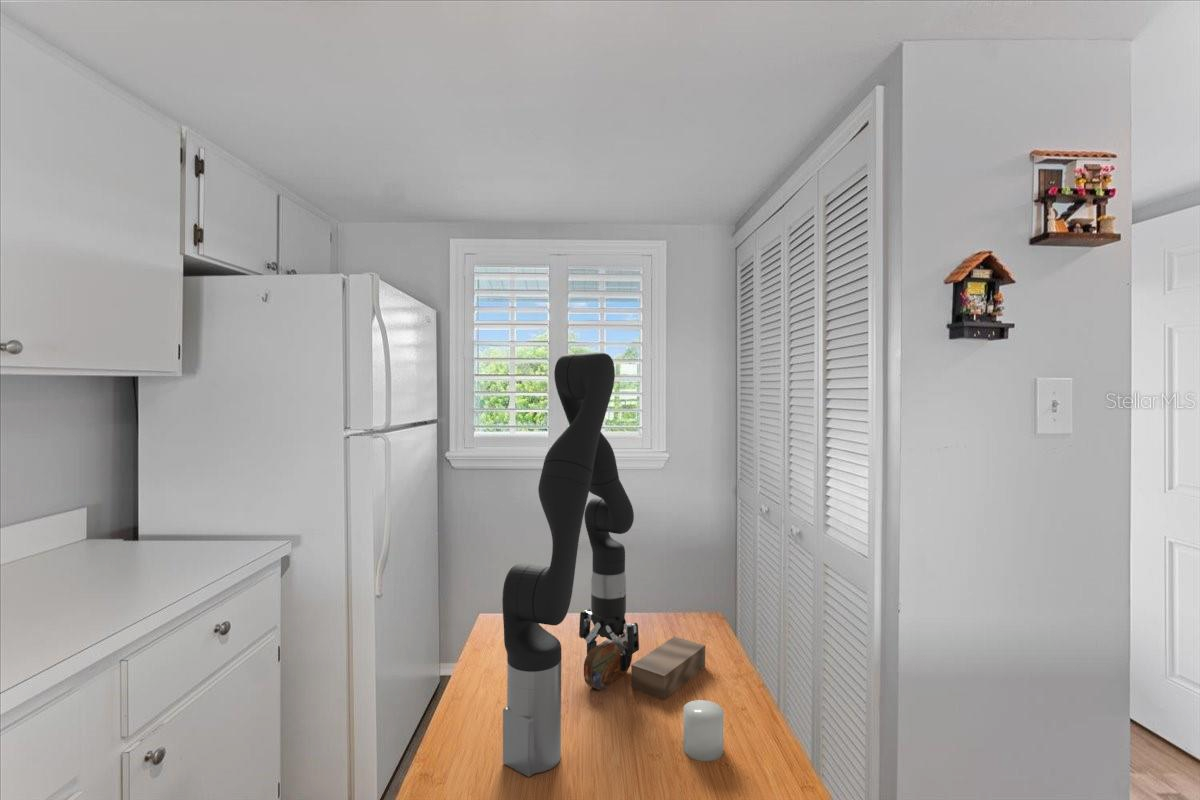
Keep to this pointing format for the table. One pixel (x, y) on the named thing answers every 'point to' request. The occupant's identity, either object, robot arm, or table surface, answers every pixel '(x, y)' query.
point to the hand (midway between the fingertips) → (608, 664)
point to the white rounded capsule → (703, 730)
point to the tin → (603, 665)
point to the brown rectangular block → (667, 667)
